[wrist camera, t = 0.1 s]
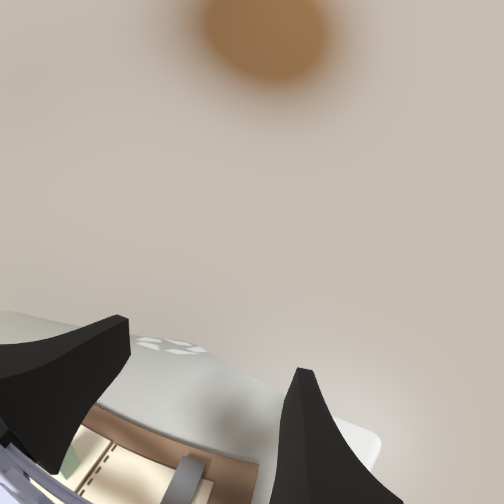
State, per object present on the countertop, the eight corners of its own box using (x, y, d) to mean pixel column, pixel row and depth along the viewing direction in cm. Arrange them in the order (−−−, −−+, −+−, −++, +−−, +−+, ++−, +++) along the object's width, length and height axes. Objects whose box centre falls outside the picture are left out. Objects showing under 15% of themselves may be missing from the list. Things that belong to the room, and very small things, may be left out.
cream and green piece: (57, 517, 10) (36, 498, 9) (18, 486, 11) (-3, 462, 9) (111, 443, 21) (104, 416, 20) (75, 422, 22) (65, 394, 21)
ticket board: (216, 618, 5) (220, 621, 4) (-26, 479, 8) (-40, 464, 7) (256, 470, 24) (262, 457, 23) (63, 392, 27) (58, 376, 26)
